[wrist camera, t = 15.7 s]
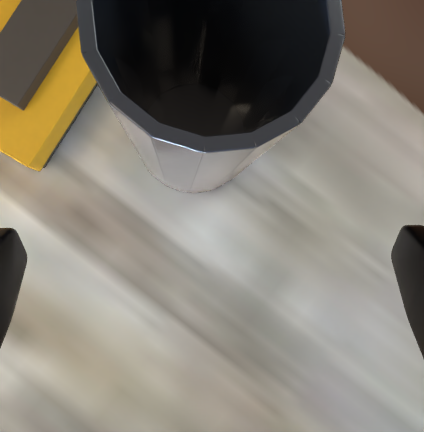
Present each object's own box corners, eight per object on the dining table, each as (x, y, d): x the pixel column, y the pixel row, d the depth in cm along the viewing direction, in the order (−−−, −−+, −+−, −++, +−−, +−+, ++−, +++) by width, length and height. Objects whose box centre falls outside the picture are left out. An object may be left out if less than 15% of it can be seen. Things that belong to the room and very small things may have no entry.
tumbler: (171, 213, 21) (161, 199, 9) (116, 113, 21) (25, -47, 9) (268, 160, 22) (389, 76, 9) (215, 62, 22) (266, -157, 9)
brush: (48, 174, 21) (20, 164, 17) (-42, 121, 20) (-89, 100, 17) (161, -4, 21) (158, -50, 18) (76, -59, 21) (55, -117, 17)
